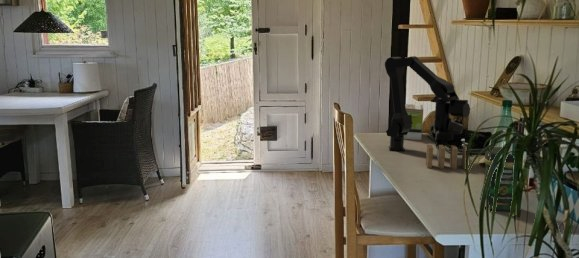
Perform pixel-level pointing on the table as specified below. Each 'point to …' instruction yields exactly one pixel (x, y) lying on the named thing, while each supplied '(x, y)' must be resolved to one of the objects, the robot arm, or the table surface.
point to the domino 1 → (429, 156)
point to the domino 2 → (441, 156)
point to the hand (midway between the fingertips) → (439, 152)
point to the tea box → (415, 121)
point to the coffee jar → (505, 183)
